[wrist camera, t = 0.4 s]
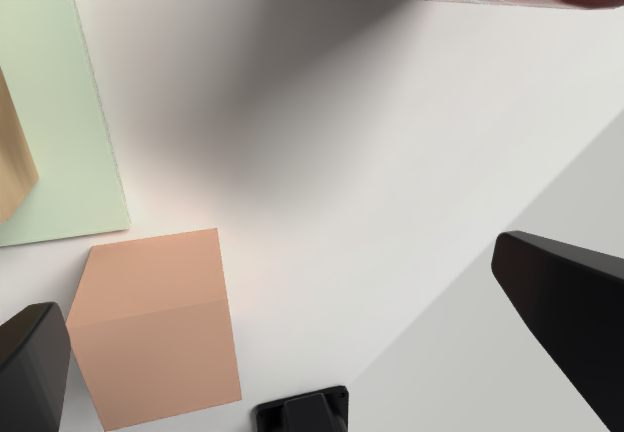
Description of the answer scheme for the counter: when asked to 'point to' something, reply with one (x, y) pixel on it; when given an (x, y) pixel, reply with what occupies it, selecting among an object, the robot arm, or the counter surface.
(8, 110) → the oak block
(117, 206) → the build plate
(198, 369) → the terracotta block
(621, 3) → the soda can
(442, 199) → the counter surface
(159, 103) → the counter surface
